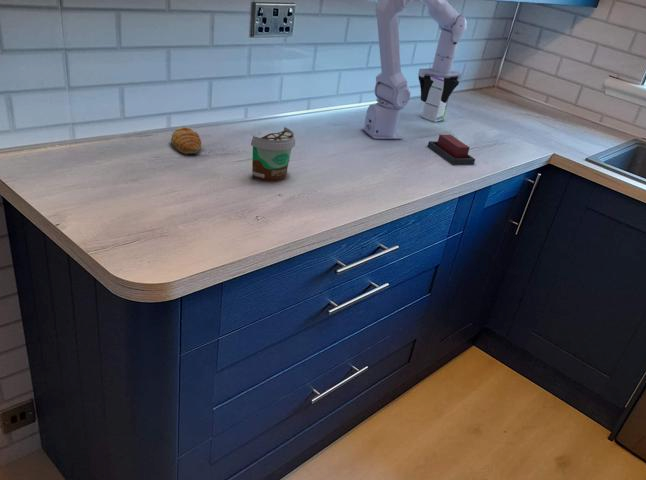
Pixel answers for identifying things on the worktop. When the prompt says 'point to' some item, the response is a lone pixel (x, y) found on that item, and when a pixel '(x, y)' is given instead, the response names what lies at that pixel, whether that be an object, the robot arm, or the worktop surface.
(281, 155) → the food container
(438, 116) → the syrup box
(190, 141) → the pastry
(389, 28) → the robot arm
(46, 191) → the worktop surface
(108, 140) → the worktop surface
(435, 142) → the cradle
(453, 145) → the dark red block
